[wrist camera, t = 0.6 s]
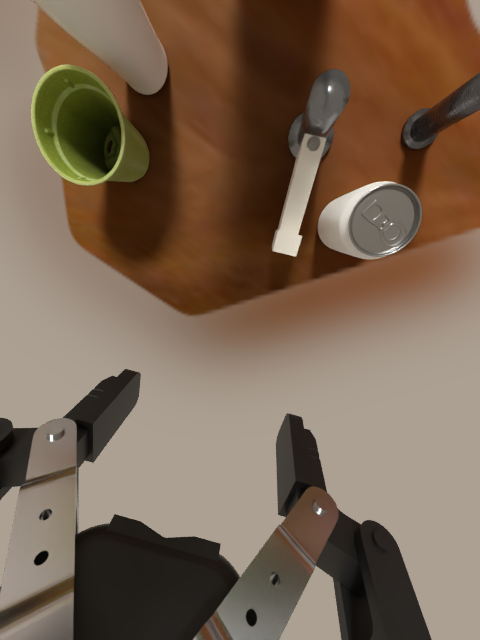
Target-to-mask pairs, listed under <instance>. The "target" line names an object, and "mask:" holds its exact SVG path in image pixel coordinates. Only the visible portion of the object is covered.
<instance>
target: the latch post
mask: <svg viewBox="0 0 480 640" xmlns="http://www.w3.org/2000/svg"><path fill="white" fill-rule="evenodd" d="M478 110H480V73H478V74H477V75H476V76H474V77H473V78H471V79H470V80H469V81H467V82H466V83H465V84H463V85H462V86H461V87H459V88H458V89H457V90H455V91H454V92H453V93H451V94H450V95H448V96H447V97H446V98H444V99H443V100H442V101H440V102H439V103H438V104H436V105H435V106H434V107H432V108H431V109H429V108H426V109H421V110H419V111H417V112H416V113H414V114H413V115H412V116H411V117H410V118H409V119H408V120H407V121H406V123H405V124H404V126H403V129H402V134H401V138H402V142H403V144H404V146H405V147H406V148H408V149H410V150H419V149H422V148H424V147H426V146H427V145H429V144H430V143H431V142H432V141H433V140H434V139H435V138H436V136H437V135H438V133H439V132H441V131H443V130H444V129H446V128H448V127H450V126H452V125H453V124H455V123H457V122H459V121H460V120H462V119H464V118H466V117H467V116H469V115H471V114H473V113H475V112H476V111H478Z"/></svg>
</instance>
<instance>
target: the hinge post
mask: <svg viewBox="0 0 480 640" xmlns="http://www.w3.org/2000/svg"><path fill="white" fill-rule="evenodd" d="M349 96H350V82H349V79H348V77H347V76H346V75H345V73H343V72H342V71H340V70H337V69H330V70H327V71H325V72H323V73H322V74H321V75H320V76H319V77H318V78H317V79H316V81H315V82H314V84H313V87H312V90H311V93H310V96H309V99H308V103H307V106H306V109H305V112H303V113H302V114H300V115H299V116H298V117H297V118H296V119H295V121H294V122H293V124H292V126H291V128H290V131H289V136H288V146H289V150H290V153H291V154H292V156H293V157H294V158H295V159H296V158H297V154H298V150H299V148H300V145H301V143H302V140H303V137H304V135H305V133H306V134H310V135H314V136H319V137H323V138H327V139H326V142H325V145H324V149H323V152H322V155H321V158H322V157H323V156H324V155H325V153H326V152H327V151H328V149H329V147H330V145H331V143H332V139H333V125H334V123H335V122H336V120H337V119H338V117H339V115H340V114H341V112H342V111H343V109H344V107H345V106H346V104H347V102H348V100H349Z"/></svg>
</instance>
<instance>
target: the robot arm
mask: <svg viewBox="0 0 480 640" xmlns="http://www.w3.org/2000/svg"><path fill="white" fill-rule="evenodd" d="M140 376H141V375H140V373H139V372H135V371H131V370H128V369H125V370H124V371H123V372H122V373H121V374H120V375H119V376H118V377H114V376H111V377H109V378H107V379H105V380H103V381H101V382H100V383H99V384H98V385H97V386H96V387H95V388H94V390H92V391H91V392H90V393H89V394H88V395H87V396H86V397H84V398H83V399H82V400H81V401H80V402H79V403H78V404H77V405H76V406H75V407H74V408H73V409H72V410H71V411H70V412H69V413H67V414H66V415H65V416H64V417H63V418H60V419H54V420H51V421H49V422H46V423H45V424H43V425H41V426H40V427H39V428H13V425H12V422H11V421H10V420H8V419H5V418H0V500H1V499H2V497H3V496H4V495H5V494H6V493H7V492H8V491H9V490H10V489H11V487H15V486H21V487H20V490H19V495H18V501H17V506H16V511H15V516H14V522H13V527H12V533H11V538H10V543H9V548H8V554H7V559H6V565H5V570H4V575H3V580H2V586H1V587H0V640H279V639H280V637H281V634H282V633H283V631H284V629H285V627H286V625H287V623H288V621H289V619H290V617H291V615H292V613H293V611H294V609H295V607H296V605H297V603H298V601H299V599H300V597H301V595H302V593H303V591H304V589H305V587H306V585H307V583H308V581H309V579H310V577H311V575H312V573H313V571H314V569H315V565H316V566H317V567H319V568H320V569H322V570H323V571H324V572H326V573H327V574H329V575H330V576H331V577H333V581H334V588H335V595H336V602H337V610H338V617H339V624H340V632H341V638H342V640H431V637H430V634H429V631H428V628H427V626H426V623H425V620H424V617H423V614H422V612H421V609H420V606H419V603H418V600H417V597H416V595H415V592H414V589H413V586H412V583H411V581H410V578H409V575H408V572H407V570H406V567H405V564H404V561H403V558H402V555H401V553H400V550H399V547H398V545H397V543H396V541H395V540H394V538H393V537H392V535H391V534H390V533H389V532H388V531H387V530H386V529H385V528H384V527H383V526H382V525H380V524H379V523H377V522H375V521H371V520H367V521H364V522H363V523H362V524H359V523H358V522H356V521H354V520H353V519H351V518H349V517H348V516H346V515H345V514H343V513H342V512H341V511H340V510H338V508H337V505H336V503H335V501H334V500H333V498H332V497H331V496H330V495H329V494H328V493H327V490H326V486H325V481H324V476H323V472H322V467H321V462H320V459H319V453H318V451H317V450H318V448H317V444H316V440H315V438H314V436H313V435H312V433H311V432H310V430H308V429H304V426H303V420H302V418H301V417H299V416H296V415H292V414H286V416H285V419H284V421H283V423H282V426H281V428H280V431H279V433H278V436H277V442H276V458H277V490H278V491H277V492H278V515H281V516H284V517H286V518H285V520H284V521H283V522H282V524H281V525H279V526H278V527H277V528H276V529H275V531H274V532H273V533H272V535H271V536H270V538H269V539H268V540H267V542H266V543H265V544H264V546H263V547H262V548H261V550H260V551H259V553H258V554H257V555H256V556H255V558H254V559H253V561H252V562H251V563H250V565H249V566H248V567H247V569H246V570H245V572H244V573H243V574H242V576H241V577H239V575H238V573H237V572H236V570H235V569H234V567H233V566H232V565H231V564H230V563H229V561H227V560H226V559H225V558H224V557H223V556H222V555H220V554H219V550H220V544H219V543H216V542H212V541H208V540H205V539H201V538H198V537H176V538H164V537H162V536H161V535H159V534H158V533H156V532H155V531H154V530H152V529H151V528H149V527H148V526H146V525H145V524H143V523H142V522H140V521H137V520H133V519H129V518H126V517H123V516H119V515H114V517H113V519H112V521H111V522H110V524H102V525H97V526H94V527H91V528H89V529H86V530H84V531H82V532H80V533H79V521H78V520H79V518H78V481H79V480H78V476H79V470H78V468H79V467H80V466H81V464H82V463H83V462H84V461H85V460H86V461H90V462H94V461H95V460H96V458H97V457H98V455H99V454H100V453H101V451H102V450H103V449H104V447H105V446H106V444H107V443H108V442H109V440H110V439H111V438H112V436H113V435H114V434H115V432H116V431H117V430H118V428H119V427H120V425H121V424H122V423H123V421H124V420H125V418H126V417H127V416H128V415H129V413H130V412H131V411H132V409H133V408H134V406H135V405H136V402H137V400H138V397H139V388H140Z"/></svg>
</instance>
